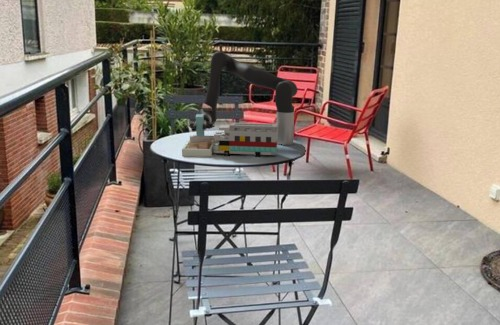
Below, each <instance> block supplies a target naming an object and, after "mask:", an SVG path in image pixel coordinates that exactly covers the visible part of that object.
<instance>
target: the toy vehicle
mask: <svg viewBox="0 0 500 325" xmlns="http://www.w3.org/2000/svg"><path fill="white" fill-rule="evenodd" d="M277 126H278V124H276V123H263V122H262V123H259V122H255V123H254V122H231V123H230V124H221V125H219V127H218V131H216V132H215V133H214V134H213V136H214V140H216V143H215V145H214V152H213V154H224V157H226V156H227V157H230V156H231V154H232V155H233V154H235V155H237V154H239V155H255V156H254V157H255V158H261V157H262V156H267V155H268V156H277V151H278V144H277Z"/></svg>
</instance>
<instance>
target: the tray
mask: <svg viewBox="0 0 500 325" xmlns="http://www.w3.org/2000/svg"><path fill="white" fill-rule="evenodd" d="M213 154H214V145H211V147H210V149H188V143H185V144H184V146H182V148H181V156H182V157H209V158H210V157H212V156H213Z"/></svg>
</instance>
